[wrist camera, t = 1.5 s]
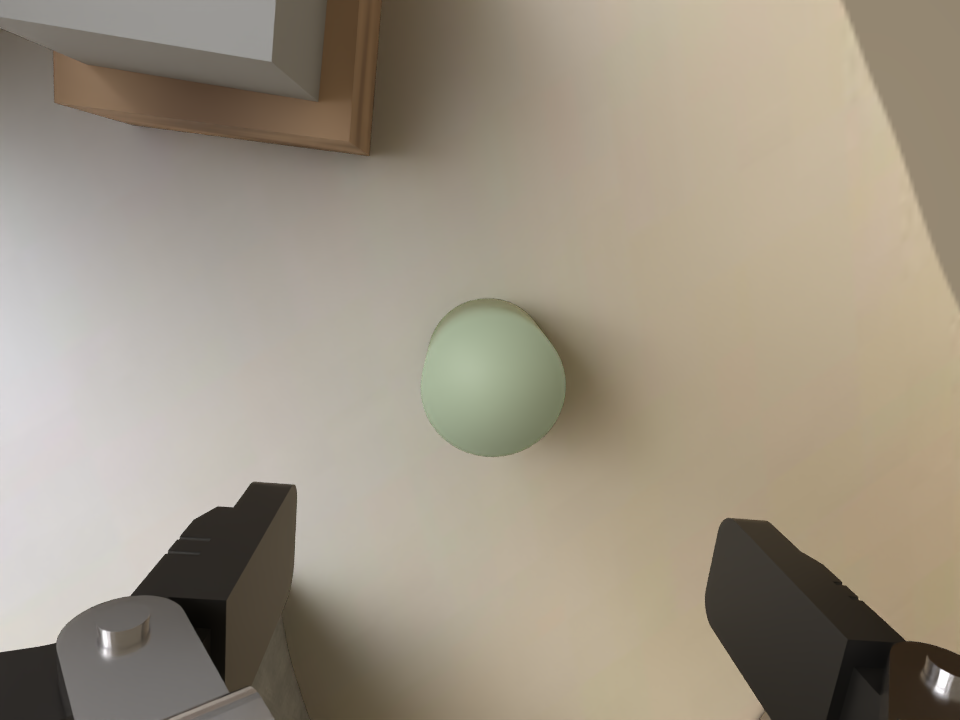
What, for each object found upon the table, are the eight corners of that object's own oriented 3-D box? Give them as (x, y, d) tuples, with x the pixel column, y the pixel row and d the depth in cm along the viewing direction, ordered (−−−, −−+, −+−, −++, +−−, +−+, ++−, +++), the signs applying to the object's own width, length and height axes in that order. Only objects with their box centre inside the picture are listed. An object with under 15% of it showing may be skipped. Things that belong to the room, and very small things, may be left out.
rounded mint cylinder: (553, 305, 26) (575, 324, 21) (537, 419, 27) (554, 463, 22) (433, 292, 25) (428, 308, 21) (422, 407, 27) (414, 449, 22)
